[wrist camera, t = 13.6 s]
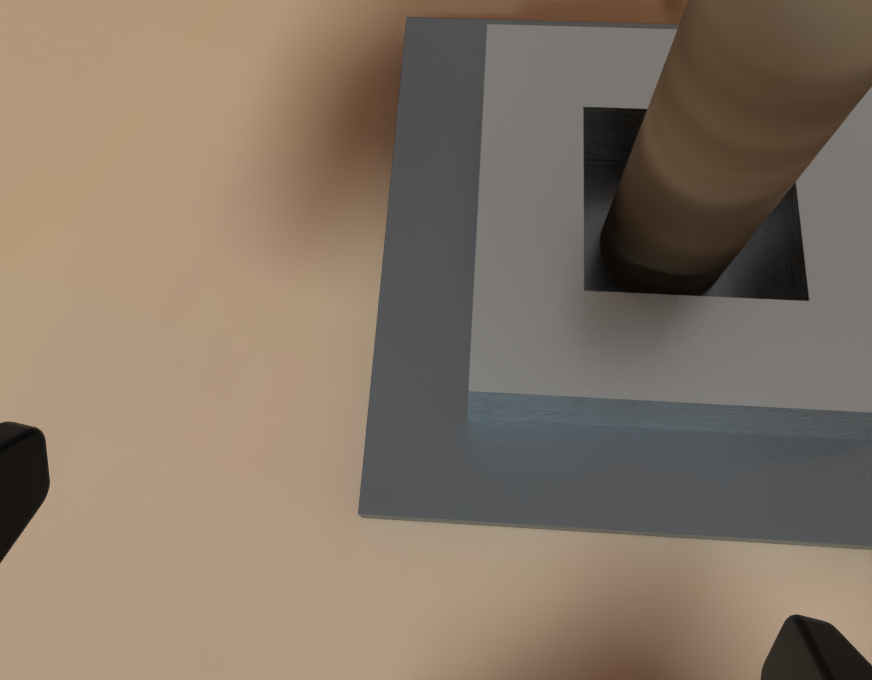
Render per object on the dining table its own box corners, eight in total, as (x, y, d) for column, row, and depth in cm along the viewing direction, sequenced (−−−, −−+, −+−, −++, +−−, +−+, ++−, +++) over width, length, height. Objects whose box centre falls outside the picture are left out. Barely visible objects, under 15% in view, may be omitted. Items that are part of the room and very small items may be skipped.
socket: (982, 556, 21) (1095, 546, 17) (362, 517, 22) (342, 500, 18) (893, 50, 27) (962, -38, 23) (408, 36, 28) (400, -52, 24)
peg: (682, 328, 23) (901, 57, 11) (575, 256, 24) (680, -59, 12) (749, 236, 24) (1011, -97, 12) (644, 171, 25) (799, -194, 13)
